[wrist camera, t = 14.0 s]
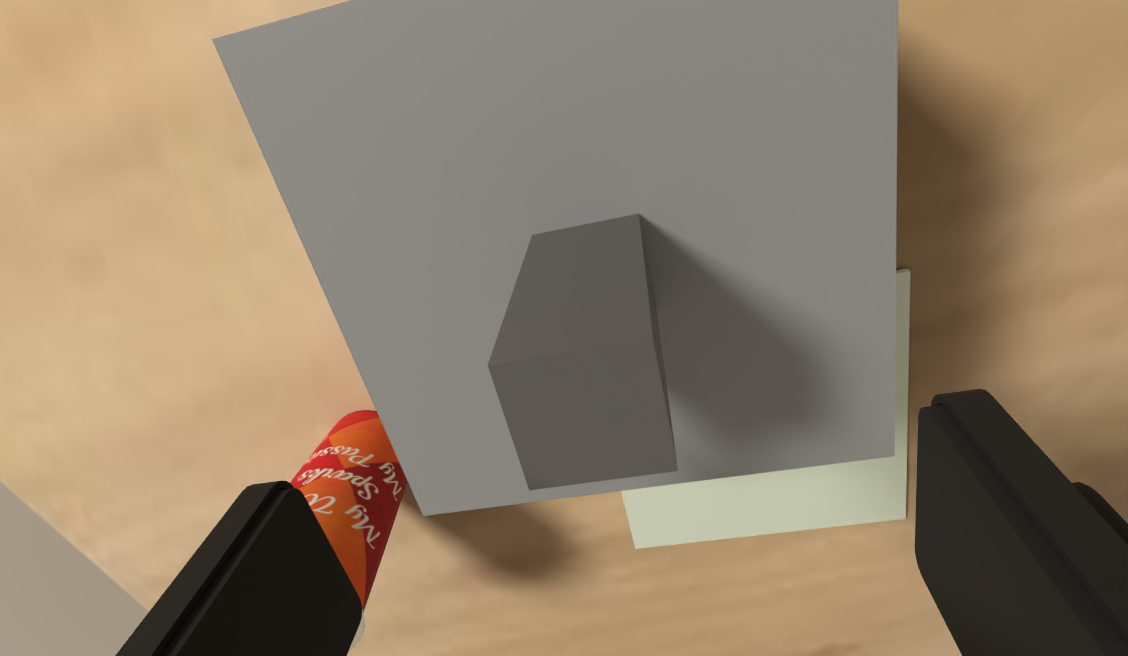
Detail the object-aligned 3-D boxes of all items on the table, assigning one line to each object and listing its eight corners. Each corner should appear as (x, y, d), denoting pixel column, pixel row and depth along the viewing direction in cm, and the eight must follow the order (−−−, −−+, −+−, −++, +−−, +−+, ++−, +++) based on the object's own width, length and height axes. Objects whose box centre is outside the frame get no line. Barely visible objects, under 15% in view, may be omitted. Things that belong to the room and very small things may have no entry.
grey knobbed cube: (743, -72, 29) (1157, -287, 7) (771, 254, 36) (1018, 659, 14) (413, 17, 31) (-48, 68, 10) (500, 304, 39) (352, 708, 17)
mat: (907, 268, 36) (910, 270, 35) (903, 514, 44) (905, 518, 44) (580, 324, 39) (580, 328, 38) (635, 544, 47) (635, 548, 47)
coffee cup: (439, 411, 43) (361, 598, 30) (424, 499, 47) (349, 699, 33) (317, 383, 42) (182, 559, 29) (312, 474, 46) (191, 666, 33)
